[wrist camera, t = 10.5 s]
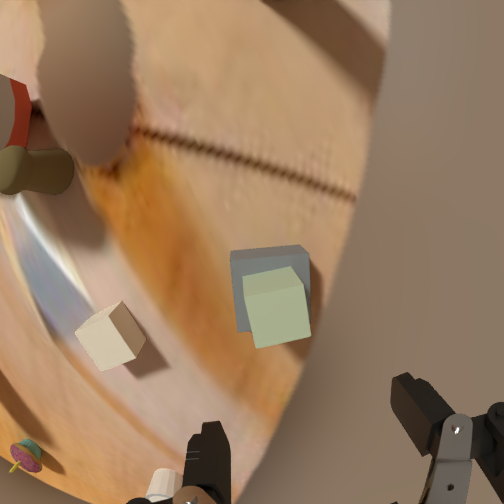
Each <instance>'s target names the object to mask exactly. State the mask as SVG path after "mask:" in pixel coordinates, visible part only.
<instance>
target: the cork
mask: <svg viewBox="0 0 504 504" xmlns="http://www.w3.org/2000/svg"><path fill="white" fill-rule="evenodd" d="M73 172H74V165H73V160H72V158H71V156H70V154H69V153H68V152H67V151H65V150H63V149H46V150H34V151H27V150H26V149H24V148H23V147H21V146H18V145H11V146H8V147H6V148H4V149H3V150H2V151H1V152H0V192H1V193H2V194H5V195H14V194H16V193H19V192H21V191H22V190H29V191H35V192H41V193H47V194H54V195H56V194H60V193H62V192H63V191H64V190H66V189H67V187H68V186H69V185H70V183H71V180H72V178H73Z"/></svg>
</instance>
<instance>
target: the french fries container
mask: <svg viewBox="0 0 504 504" xmlns="http://www.w3.org/2000/svg"><path fill="white" fill-rule="evenodd" d="M31 110H32V104H31V101H30V98H29V94H28V91H27V87H26V85H25V84H23V83H20V82H18V81H16V80H13V79H11V78H8V77H6V76H4V75H1V74H0V152H1V151H2V150H3V149H4V148H6V147H8V146H11V145H18V146H21V147H23V148H24V147H25V146H26V144H27V140H28V131H29V123H30V116H31Z"/></svg>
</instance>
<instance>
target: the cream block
mask: <svg viewBox="0 0 504 504" xmlns="http://www.w3.org/2000/svg"><path fill="white" fill-rule="evenodd" d="M75 335H76V336H77V338H78V339H79V341H80V342H81V344H82V345H83V347H84V348H85V350H86V351H87V352H88V354H89V355H90V357H91V358H92V360H93V361H94V362H95V364H96V365H97V367H98V368H99V369H100V371H101V372H102V371H105V370H107V369H110V368H112V367H115V366H118V365H120V364H123V363H125V362H128V361H130V360H133V359H135V358H137V356H138V354H139V352H140V350H141V348H142V346H143V345H144V343H145V341H146V338H145V336H144V335H143V333H142V332H141V330H140V329H139V327H138V325H137V324H136V322H135V321H134V319H133V317H132V316H131V314H130V313H129V311H128V309H127V308H126V306H125V304H124V303H123V301H120V302H118V303H116V304H114V305H113V306H111V307H109V308H107V309H105V310H103V311H101V312H99V313H97V314H95V315H93V316H91V317H90V318H89V319H88V320H87V321H86V322H85V323H84V324H83V325H82V326H81V327H80V328H79V329H78V330H77V331H76V332H75Z"/></svg>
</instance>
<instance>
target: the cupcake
mask: <svg viewBox="0 0 504 504" xmlns="http://www.w3.org/2000/svg"><path fill="white" fill-rule="evenodd" d="M10 451H11V455H12V457H13V458H14V460H15V461H16V462H17V463H16V464H15V465H14V466H13V468H12V469H11V470H10V472H9V473H12V472H13V471H14V470H15V469H16V468H17V467H18V465H20V466H21V467H22V468H24V469H25V470H27V471H29V472H35V473H37V472H40V471H41V470H42V464H41V461H40V456H41V449H40V448H39V447H38V445H36V444H35V443H34V442H33V441H31V440H29V439H25V440H23V441H21V442H19V443H14V444H12V445H11V449H10Z"/></svg>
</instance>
